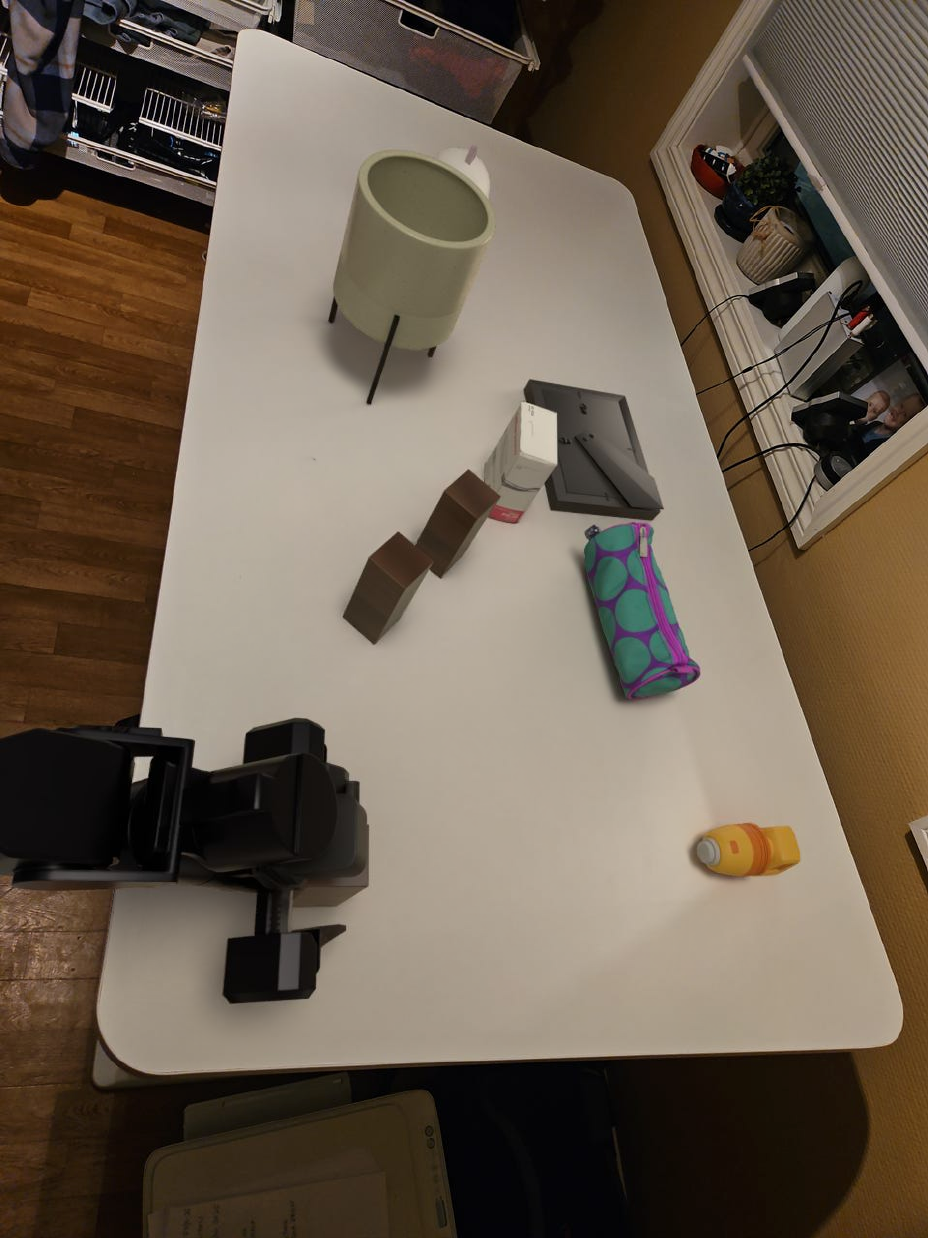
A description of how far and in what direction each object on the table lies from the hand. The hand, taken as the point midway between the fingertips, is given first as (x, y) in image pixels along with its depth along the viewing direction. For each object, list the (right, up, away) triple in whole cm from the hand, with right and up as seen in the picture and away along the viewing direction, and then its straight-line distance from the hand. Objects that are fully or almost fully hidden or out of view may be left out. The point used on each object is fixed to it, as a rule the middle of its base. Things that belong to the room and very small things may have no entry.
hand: (342, 866), depth 58 cm
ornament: (+7, +83, +57) cm, 101 cm away
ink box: (+14, +36, +34) cm, 51 cm away
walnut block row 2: (+7, +27, +26) cm, 38 cm away
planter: (-2, +54, +37) cm, 65 cm away
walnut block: (0, +20, +19) cm, 28 cm away
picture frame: (+27, +43, +43) cm, 66 cm away
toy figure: (+39, -6, +21) cm, 45 cm away
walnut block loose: (-4, -3, +5) cm, 7 cm away
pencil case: (+29, +19, +31) cm, 46 cm away
